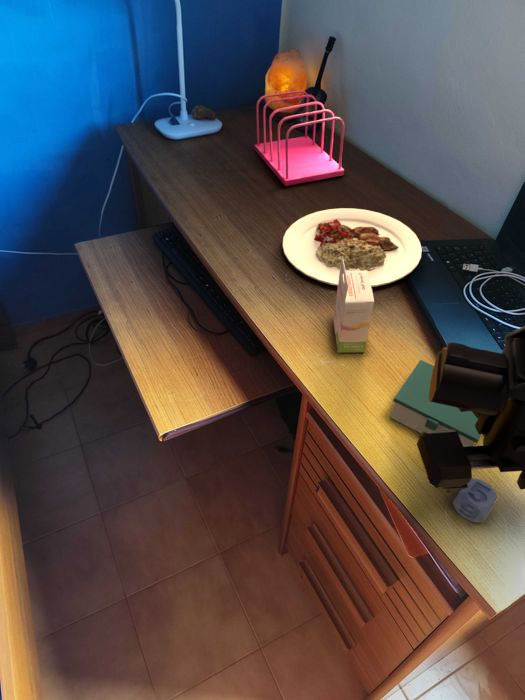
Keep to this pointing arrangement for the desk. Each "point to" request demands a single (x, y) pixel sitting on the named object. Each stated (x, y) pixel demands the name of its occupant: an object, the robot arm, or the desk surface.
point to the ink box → (352, 310)
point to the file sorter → (299, 146)
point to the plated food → (352, 245)
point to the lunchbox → (431, 408)
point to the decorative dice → (475, 500)
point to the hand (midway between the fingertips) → (483, 488)
